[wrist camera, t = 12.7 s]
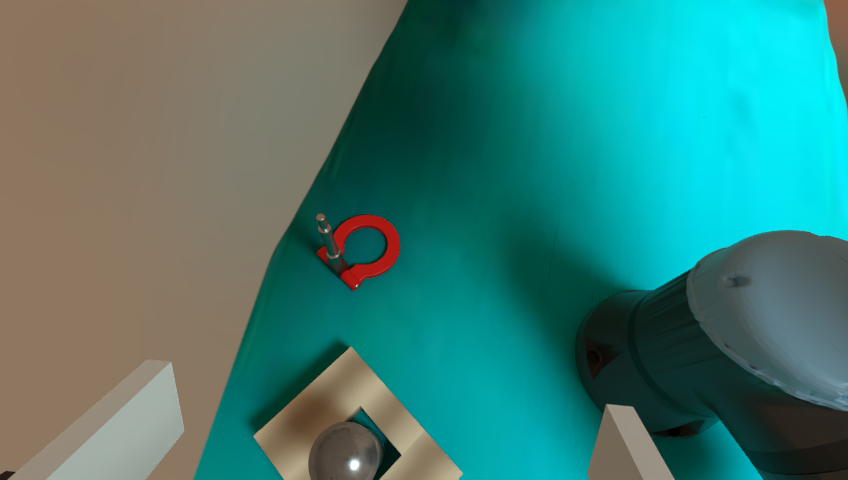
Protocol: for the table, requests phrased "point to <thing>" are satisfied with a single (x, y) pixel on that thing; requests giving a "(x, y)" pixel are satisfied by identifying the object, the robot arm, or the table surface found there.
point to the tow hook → (335, 248)
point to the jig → (340, 402)
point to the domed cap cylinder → (346, 453)
